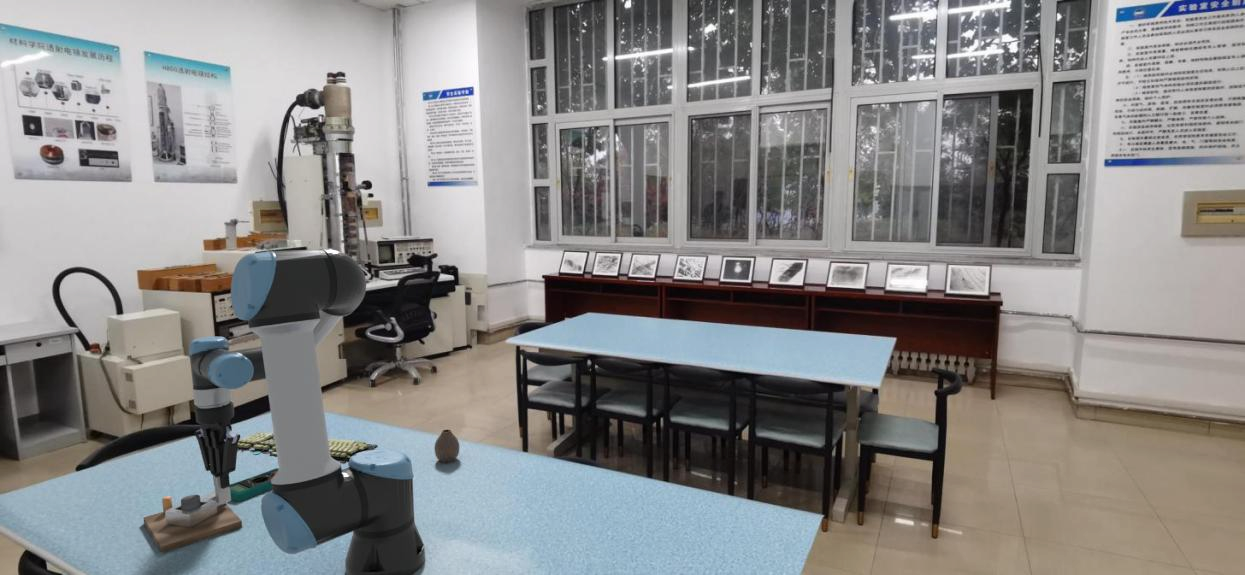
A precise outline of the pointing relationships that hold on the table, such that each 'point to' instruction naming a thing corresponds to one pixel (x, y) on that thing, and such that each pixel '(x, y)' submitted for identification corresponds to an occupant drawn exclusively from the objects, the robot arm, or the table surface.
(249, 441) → the keyboard
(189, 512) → the grey frame piece
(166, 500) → the dowel pin
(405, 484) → the robot arm
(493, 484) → the table surface
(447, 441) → the vase
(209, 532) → the board
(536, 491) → the table surface
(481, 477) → the table surface
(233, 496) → the digital multimeter
